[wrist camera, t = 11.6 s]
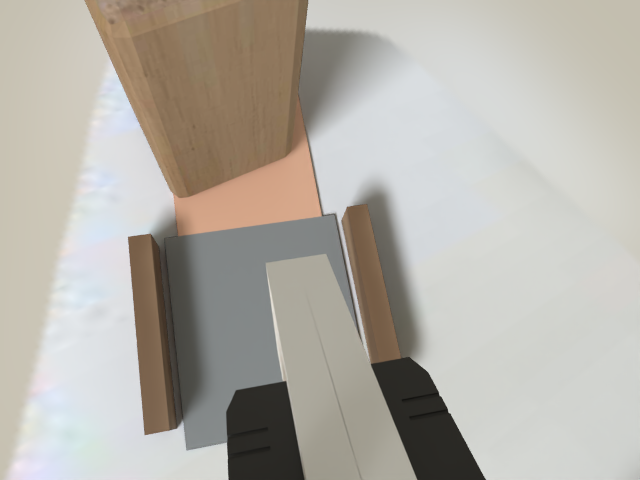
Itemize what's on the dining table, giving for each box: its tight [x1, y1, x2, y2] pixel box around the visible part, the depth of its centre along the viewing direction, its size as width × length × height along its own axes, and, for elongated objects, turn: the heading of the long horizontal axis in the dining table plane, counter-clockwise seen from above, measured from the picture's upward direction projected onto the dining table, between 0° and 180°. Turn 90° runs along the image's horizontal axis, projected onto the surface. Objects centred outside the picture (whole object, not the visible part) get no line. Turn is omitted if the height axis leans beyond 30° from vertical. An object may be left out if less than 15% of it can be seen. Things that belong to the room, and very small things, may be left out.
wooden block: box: [85, 0, 308, 198], centre depth 33 cm, size 10×10×20 cm
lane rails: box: [128, 204, 401, 435], centre depth 37 cm, size 17×13×3 cm
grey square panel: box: [164, 215, 358, 450], centre depth 38 cm, size 13×15×1 cm
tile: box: [173, 96, 322, 236], centre depth 42 cm, size 11×12×1 cm
